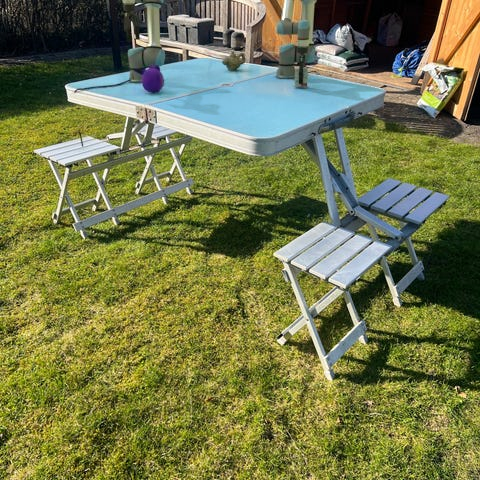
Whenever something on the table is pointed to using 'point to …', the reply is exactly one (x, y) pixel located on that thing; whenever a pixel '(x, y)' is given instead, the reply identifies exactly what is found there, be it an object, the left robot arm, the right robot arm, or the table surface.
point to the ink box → (305, 77)
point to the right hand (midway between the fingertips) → (301, 82)
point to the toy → (152, 79)
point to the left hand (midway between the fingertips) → (133, 40)
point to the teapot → (233, 61)
